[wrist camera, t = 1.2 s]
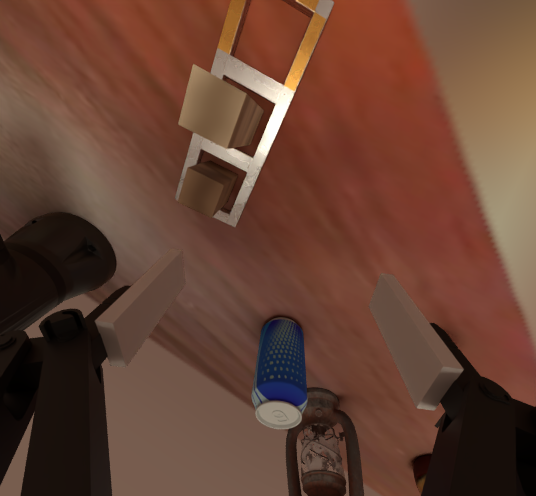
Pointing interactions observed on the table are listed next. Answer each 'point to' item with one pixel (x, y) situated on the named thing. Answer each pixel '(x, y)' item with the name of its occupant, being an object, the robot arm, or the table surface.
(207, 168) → the walnut peg
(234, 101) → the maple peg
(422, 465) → the vase
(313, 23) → the white yellow rectangular frame
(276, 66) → the table surface
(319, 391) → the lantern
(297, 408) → the beer can
